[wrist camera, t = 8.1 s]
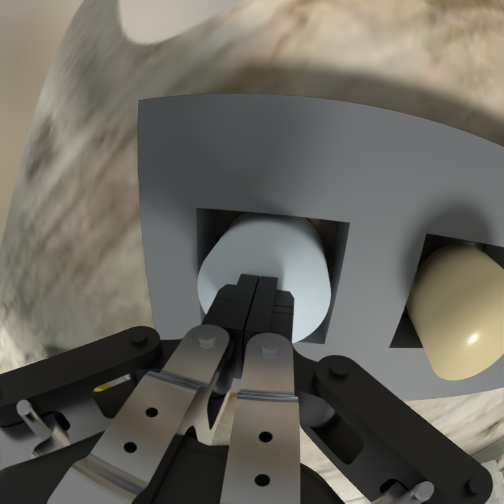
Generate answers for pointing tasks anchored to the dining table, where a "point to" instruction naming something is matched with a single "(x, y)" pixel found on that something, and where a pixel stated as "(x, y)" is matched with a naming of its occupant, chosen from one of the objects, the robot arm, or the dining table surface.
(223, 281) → the blue button
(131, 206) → the dining table surface
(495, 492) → the basket
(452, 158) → the control panel
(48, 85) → the dining table surface
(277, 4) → the dining table surface
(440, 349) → the ochre button
